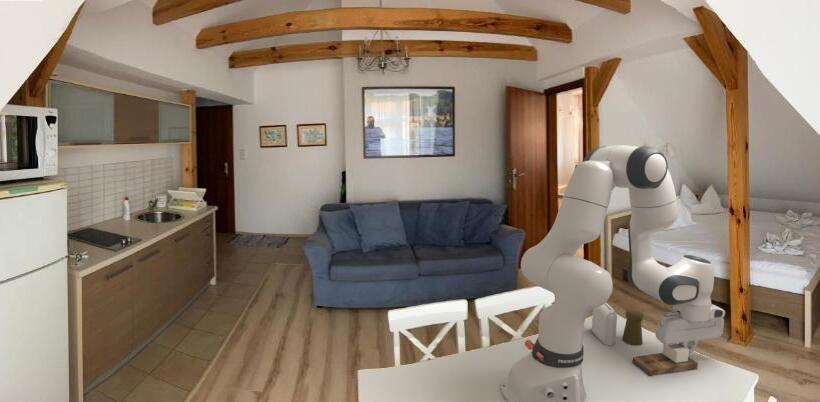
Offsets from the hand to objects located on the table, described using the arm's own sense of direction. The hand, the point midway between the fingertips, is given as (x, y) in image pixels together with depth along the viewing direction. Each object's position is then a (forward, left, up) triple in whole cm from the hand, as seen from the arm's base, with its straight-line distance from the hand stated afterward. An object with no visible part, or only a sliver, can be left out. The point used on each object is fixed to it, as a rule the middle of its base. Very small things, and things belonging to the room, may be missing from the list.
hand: (686, 352), depth 121 cm
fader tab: (-4, 0, -1) cm, 4 cm away
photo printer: (-14, +19, -4) cm, 24 cm away
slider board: (-7, 0, -3) cm, 8 cm away
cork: (-6, +15, -4) cm, 16 cm away
